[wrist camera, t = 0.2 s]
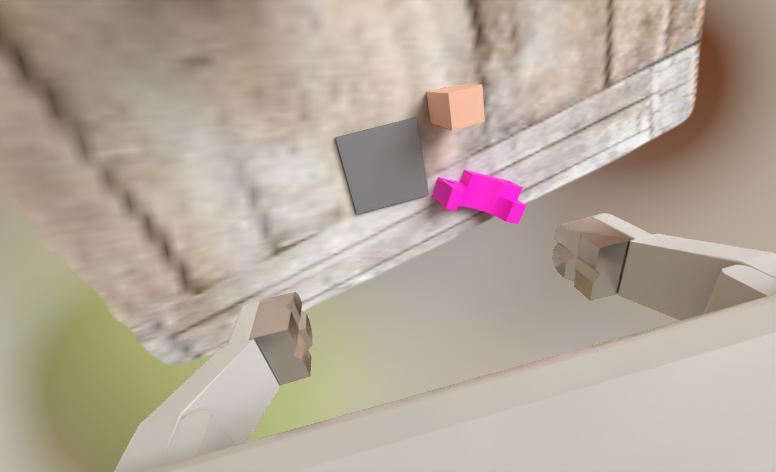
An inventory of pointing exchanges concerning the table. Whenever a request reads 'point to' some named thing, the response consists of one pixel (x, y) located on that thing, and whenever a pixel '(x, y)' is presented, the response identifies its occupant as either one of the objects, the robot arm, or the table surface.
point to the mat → (384, 165)
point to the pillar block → (456, 106)
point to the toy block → (481, 195)
